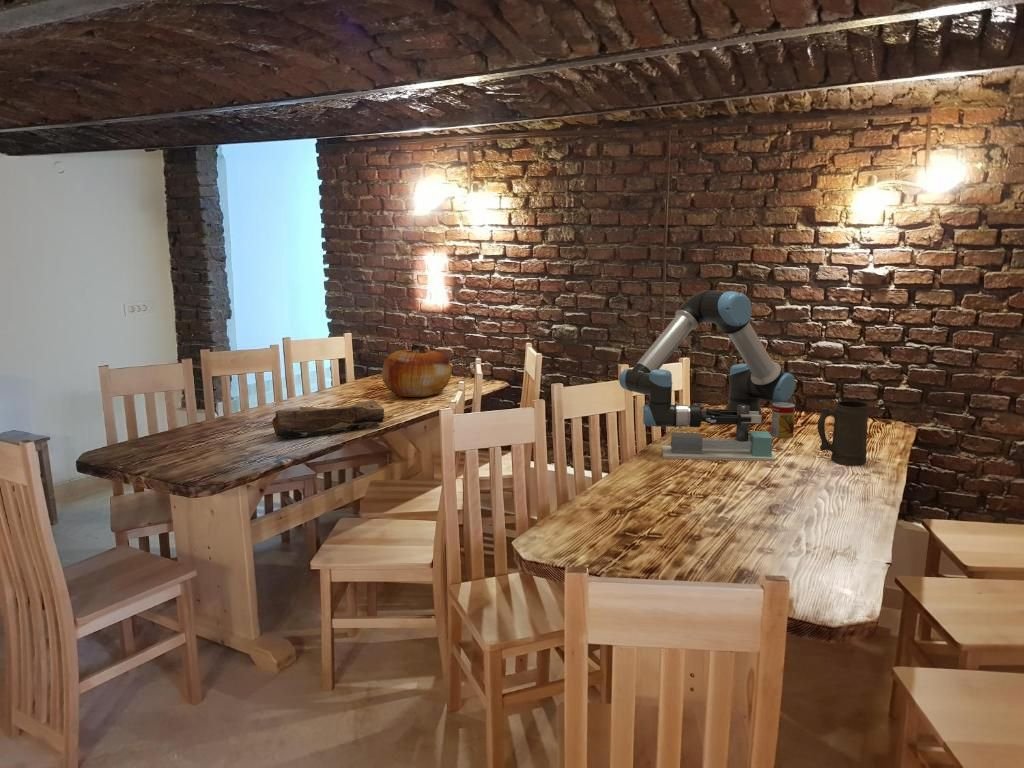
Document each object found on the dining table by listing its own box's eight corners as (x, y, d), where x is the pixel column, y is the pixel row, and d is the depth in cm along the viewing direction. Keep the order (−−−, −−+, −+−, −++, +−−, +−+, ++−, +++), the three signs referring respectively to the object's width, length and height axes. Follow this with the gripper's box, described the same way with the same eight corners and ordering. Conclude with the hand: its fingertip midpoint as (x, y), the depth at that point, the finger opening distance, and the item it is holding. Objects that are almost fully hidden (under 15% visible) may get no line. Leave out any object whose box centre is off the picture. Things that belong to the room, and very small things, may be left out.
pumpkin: (458, 388, 371) (454, 338, 367) (445, 400, 339) (441, 345, 335) (394, 391, 375) (389, 342, 371) (376, 403, 342) (370, 349, 338)
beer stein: (861, 456, 249) (862, 398, 245) (873, 466, 238) (874, 406, 234) (814, 458, 250) (813, 401, 246) (824, 468, 240) (824, 409, 236)
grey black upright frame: (698, 449, 252) (700, 406, 249) (697, 445, 256) (698, 403, 253) (762, 450, 249) (764, 407, 246) (760, 447, 253) (762, 404, 250)
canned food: (797, 437, 273) (799, 405, 270) (780, 439, 270) (782, 407, 267) (782, 432, 280) (784, 401, 277) (766, 434, 277) (767, 403, 274)
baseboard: (663, 458, 251) (663, 455, 251) (661, 448, 262) (661, 445, 262) (775, 461, 245) (775, 458, 245) (768, 451, 257) (769, 448, 256)
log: (273, 442, 277) (277, 404, 274) (266, 428, 292) (270, 391, 289) (383, 444, 297) (388, 408, 294) (371, 431, 312) (375, 397, 309)
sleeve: (671, 453, 253) (672, 436, 252) (671, 448, 259) (671, 432, 257) (701, 453, 251) (702, 437, 250) (700, 449, 257) (700, 432, 256)
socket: (752, 456, 248) (753, 437, 247) (749, 449, 256) (749, 431, 254) (771, 456, 247) (772, 438, 246) (767, 449, 255) (768, 431, 253)
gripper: (686, 420, 261) (755, 421, 258) (690, 433, 245) (763, 434, 241) (687, 399, 260) (756, 400, 256) (691, 411, 243) (765, 412, 240)
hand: (759, 417), depth 249 cm, fingers closed on grey black upright frame, 4 cm apart
